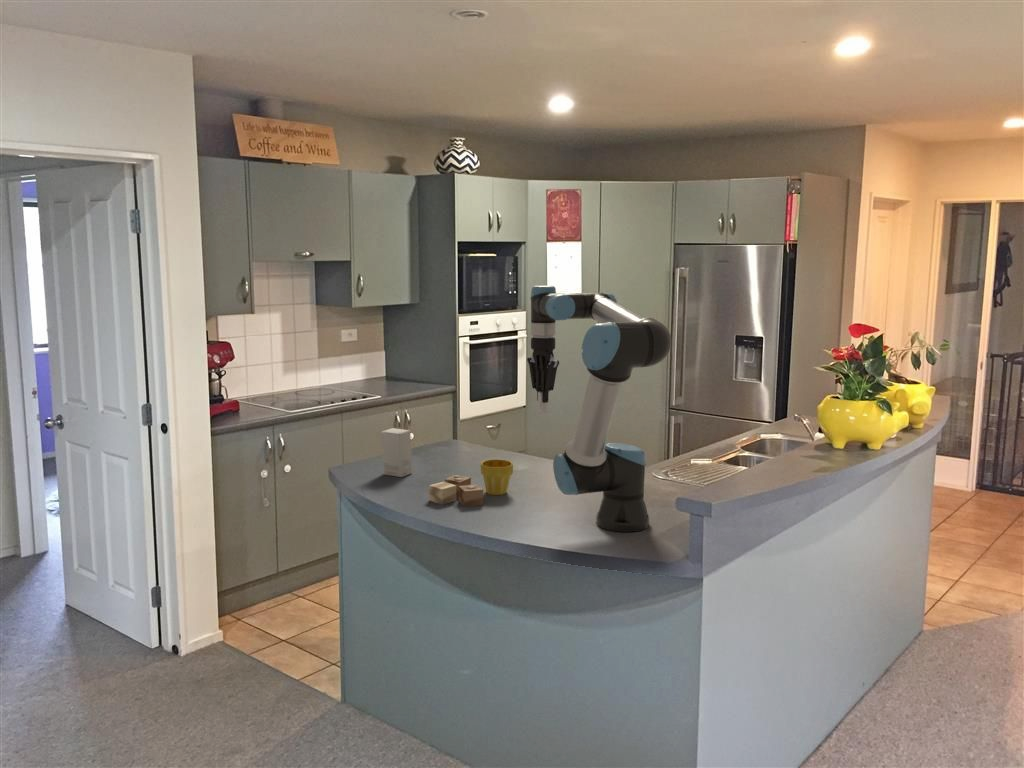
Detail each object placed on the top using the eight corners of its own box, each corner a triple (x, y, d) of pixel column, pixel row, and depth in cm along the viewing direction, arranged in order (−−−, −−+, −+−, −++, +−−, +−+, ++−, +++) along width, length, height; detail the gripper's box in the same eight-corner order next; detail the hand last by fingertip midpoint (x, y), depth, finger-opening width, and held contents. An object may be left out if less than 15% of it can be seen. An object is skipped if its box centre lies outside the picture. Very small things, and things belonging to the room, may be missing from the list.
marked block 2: (483, 505, 265) (483, 488, 264) (464, 507, 263) (464, 490, 262) (477, 499, 271) (477, 483, 270) (458, 501, 269) (458, 485, 268)
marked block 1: (470, 492, 278) (470, 477, 277) (460, 497, 273) (460, 481, 272) (455, 489, 281) (455, 474, 280) (444, 494, 276) (444, 478, 275)
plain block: (456, 500, 269) (456, 485, 268) (442, 504, 265) (442, 489, 264) (443, 496, 273) (443, 481, 273) (429, 500, 269) (429, 485, 268)
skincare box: (412, 473, 299) (412, 430, 297) (400, 478, 294) (399, 433, 291) (393, 470, 304) (393, 427, 301) (381, 474, 298) (380, 430, 296)
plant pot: (509, 498, 272) (509, 468, 271) (477, 495, 274) (477, 466, 273) (515, 488, 282) (515, 459, 281) (485, 486, 284) (485, 458, 283)
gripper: (566, 337, 260) (565, 414, 263) (539, 334, 270) (538, 408, 273) (547, 338, 255) (546, 416, 259) (520, 335, 265) (520, 410, 269)
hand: (542, 412), depth 266 cm, fingers closed
